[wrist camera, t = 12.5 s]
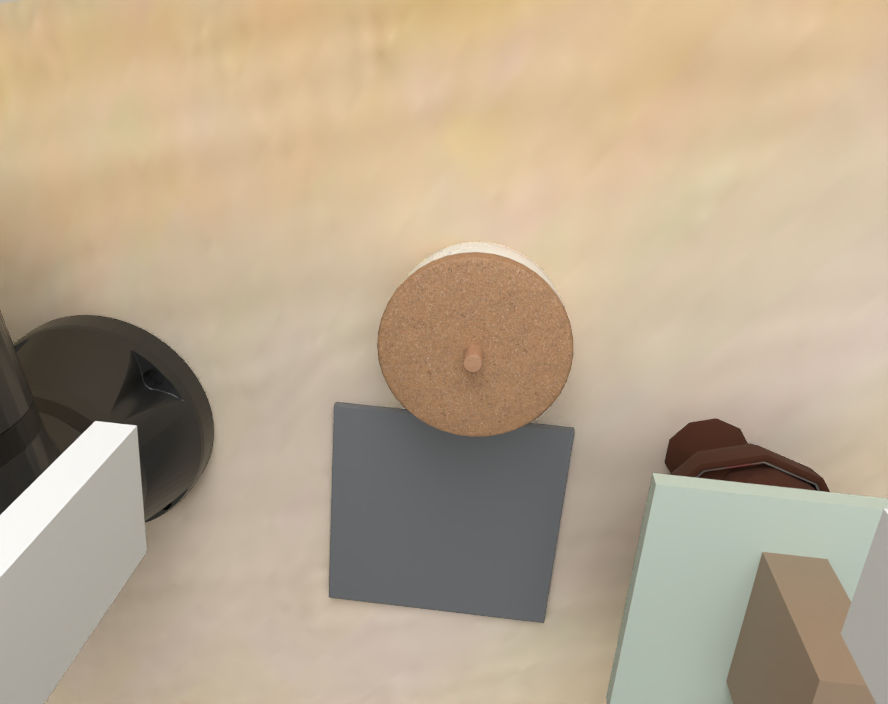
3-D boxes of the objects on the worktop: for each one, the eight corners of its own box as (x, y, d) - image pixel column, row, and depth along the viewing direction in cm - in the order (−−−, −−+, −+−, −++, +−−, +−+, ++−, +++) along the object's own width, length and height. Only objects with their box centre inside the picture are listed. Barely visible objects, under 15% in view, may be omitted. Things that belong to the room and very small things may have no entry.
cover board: (606, 697, 44) (626, 856, 36) (652, 473, 39) (689, 601, 30) (872, 729, 44) (955, 899, 35) (958, 506, 38) (1080, 645, 30)
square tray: (330, 592, 62) (328, 597, 61) (336, 402, 56) (334, 405, 55) (543, 617, 61) (543, 623, 61) (573, 427, 55) (574, 432, 54)
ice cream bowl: (669, 547, 58) (716, 718, 44) (596, 423, 55) (622, 566, 41) (816, 487, 55) (916, 649, 41) (749, 352, 52) (832, 479, 38)
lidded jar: (373, 247, 51) (343, 297, 43) (541, 199, 49) (545, 241, 41) (425, 397, 55) (408, 471, 46) (584, 358, 53) (596, 427, 44)
